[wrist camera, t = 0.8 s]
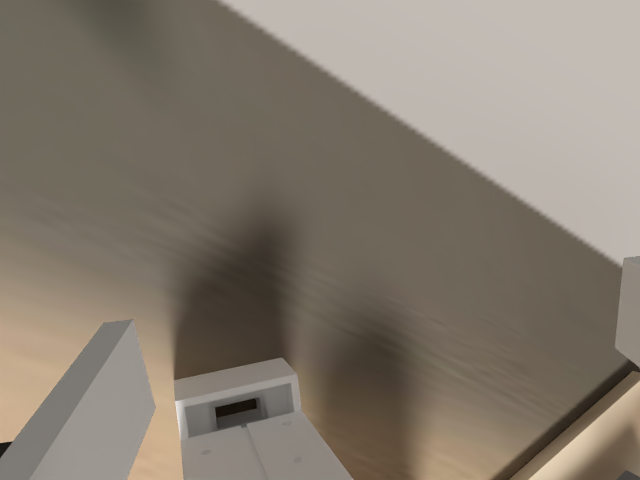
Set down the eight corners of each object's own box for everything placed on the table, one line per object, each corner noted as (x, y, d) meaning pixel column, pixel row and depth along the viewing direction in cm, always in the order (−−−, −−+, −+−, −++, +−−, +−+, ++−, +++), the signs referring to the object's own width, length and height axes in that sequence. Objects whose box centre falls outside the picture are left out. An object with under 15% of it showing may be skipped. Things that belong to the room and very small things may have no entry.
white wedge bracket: (380, 419, 26) (360, 530, 17) (207, 423, 28) (112, 523, 19) (373, 352, 25) (349, 431, 17) (199, 361, 28) (99, 435, 19)
